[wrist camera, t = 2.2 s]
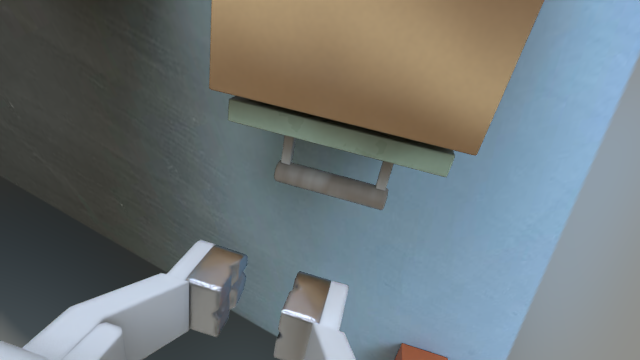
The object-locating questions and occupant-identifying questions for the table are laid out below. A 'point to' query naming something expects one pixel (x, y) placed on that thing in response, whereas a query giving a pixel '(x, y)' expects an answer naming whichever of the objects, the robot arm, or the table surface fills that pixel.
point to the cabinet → (375, 61)
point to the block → (416, 354)
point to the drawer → (343, 139)
